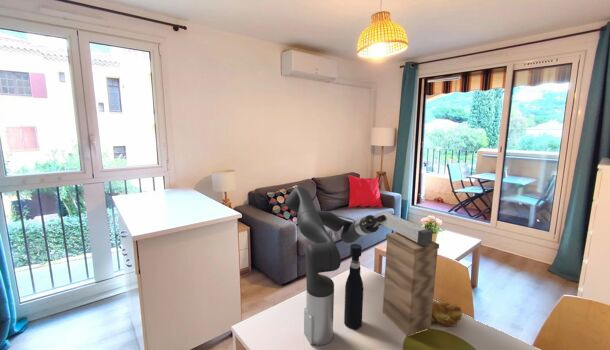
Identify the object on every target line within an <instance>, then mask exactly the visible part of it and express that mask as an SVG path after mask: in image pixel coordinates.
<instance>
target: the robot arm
mask: <svg viewBox="0 0 610 350" xmlns="http://www.w3.org/2000/svg"><path fill="white" fill-rule="evenodd" d="M311 195H312V194H311V193H310V192H309V191H308V190H307V189H306V188H305V187H304V186H301V185H300V186H299V185H298V186H295V187H294V188H293V189H292V191H291V192H290V193H289V195H288V196H287V198H286V199H285V200H284V204H285V206H286V207H288V209H289V210H291V211H293V212H294V213H296V214H297V216H296V222H297V227H298V229H299V232H300V233H301V234H302V236H303V237H305V238H307V240H309V241H311V242H313V243H309V244H308V245H307V246H306V248H305V273H306V275H305V276H306V277H305V281H306V282H305V283H306V306H305V308H303V310H304V312H303V334H304V336H305V337H306V339H307V341H308V342H309V345H317V346H324V345H327V344H329V343H330V342H332V340H333V338H334V337H333V336H334V309H335V308H334V305H335V303H334V302H335V301H334V300H335V282H334V280H332V279H331V277H329V276H327V275H324V274H320V273H328V272H334V271H337V270H338V269H340V267H341V263H342V262H341V261H342V260H341V255H340V252H339V251H340V250H339V249H338V247H337V244H336V243H335V241H334V240H333V238H332V237H331V236H330V233H328V231H327V230H326V228H328V229H329V230H331V231H333V232H335V233H336V232H339V231H340V230H341V233H340V239H341V240H342V241H341V242H344V243H345V244H354V242H356V241H357V240H359V238H360V237H363V236H366V235H370V234H373V233H376V232H377V231H378V230H379V228H380V227H382V226H383V225H382V224H380V222H382V221H385V220H386V219H385V215H381V216H379V217H378V216H375V215H372V214H368V215H366V216H364V217H361V218H360V219H358V220H356V221H354V222H353V221H350V220H346V219H344V218H341V217H339V216H338V215H336V214H334V213H333V212H331V211H328V210H317V209H316V207H315V205H314V200H313V197H312V196H311ZM391 214H392V215H395V214H394V213H391Z"/></svg>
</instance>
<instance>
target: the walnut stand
mask: <svg viewBox="0 0 610 350" xmlns="http://www.w3.org/2000/svg"><path fill="white" fill-rule="evenodd" d="M385 239H386V247H385V249H386V251H385V252H386V253H385V266H384V281H383V282H384V284H383V301H382V302H383V303H382V313H383V314H384V315H385V316H386V317H387V318H388V319H389V320H390V322H392V323H393V324H394V325H395V326H396V327H397V328H398V329H399V330H400V331H401V332H403V333H404V334H405V335H406V336H407V335H408V336H409V335H411V334H414V333H416V332H419V331H422V330H425V329H430V330H431V328H432V327H431V326H432V323H431V318H432V307H433V301H434V295H435V294H434V293H435V284H436V273H437V262H438V261H437V260H438V251H439V250H438V249H440V244H439V243H437V242H435V241H433V240H432V243H430V244H425V245H421V244H419V243H417V242H415V241H413V240H411V239H409V238H407V237H405V236H403V235H401V234H400V233H398V232H393V233H386V234H385ZM408 336H407V337H408Z"/></svg>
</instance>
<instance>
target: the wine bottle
mask: <svg viewBox="0 0 610 350" xmlns="http://www.w3.org/2000/svg"><path fill="white" fill-rule="evenodd" d="M362 249H363V248H362V246H361V244H357V243H351V244H350V246H349V256H351V260H350V265H349V274H348V276H347V278H346V280H345V281H346V282H345V286H344V287H345V288H344V289H345V290H344V314H343V316H344V318H343V323H344V325H345V327H346V328H348V329H350V330H358V329H360V328H361V327H362V324H363V310H364V309H363V308H364V307H363V305H364V282H363V279H362V276H361V262H360V257H361V256H362Z"/></svg>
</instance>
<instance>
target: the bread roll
mask: <svg viewBox="0 0 610 350" xmlns="http://www.w3.org/2000/svg"><path fill="white" fill-rule="evenodd" d="M462 313H463V312H462V308H461V306H458V305H454V304H451V303H449V302H447V301H445V300H441V301H438V302H437V301H434V300H433V307H432V318H431V325H432V324H433V325H434V324H435V325H436V324H438V325H440V326H443V327H455V326H456V325H457V324H458V322H459V321H461V320H462V316H463V315H462Z"/></svg>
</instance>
